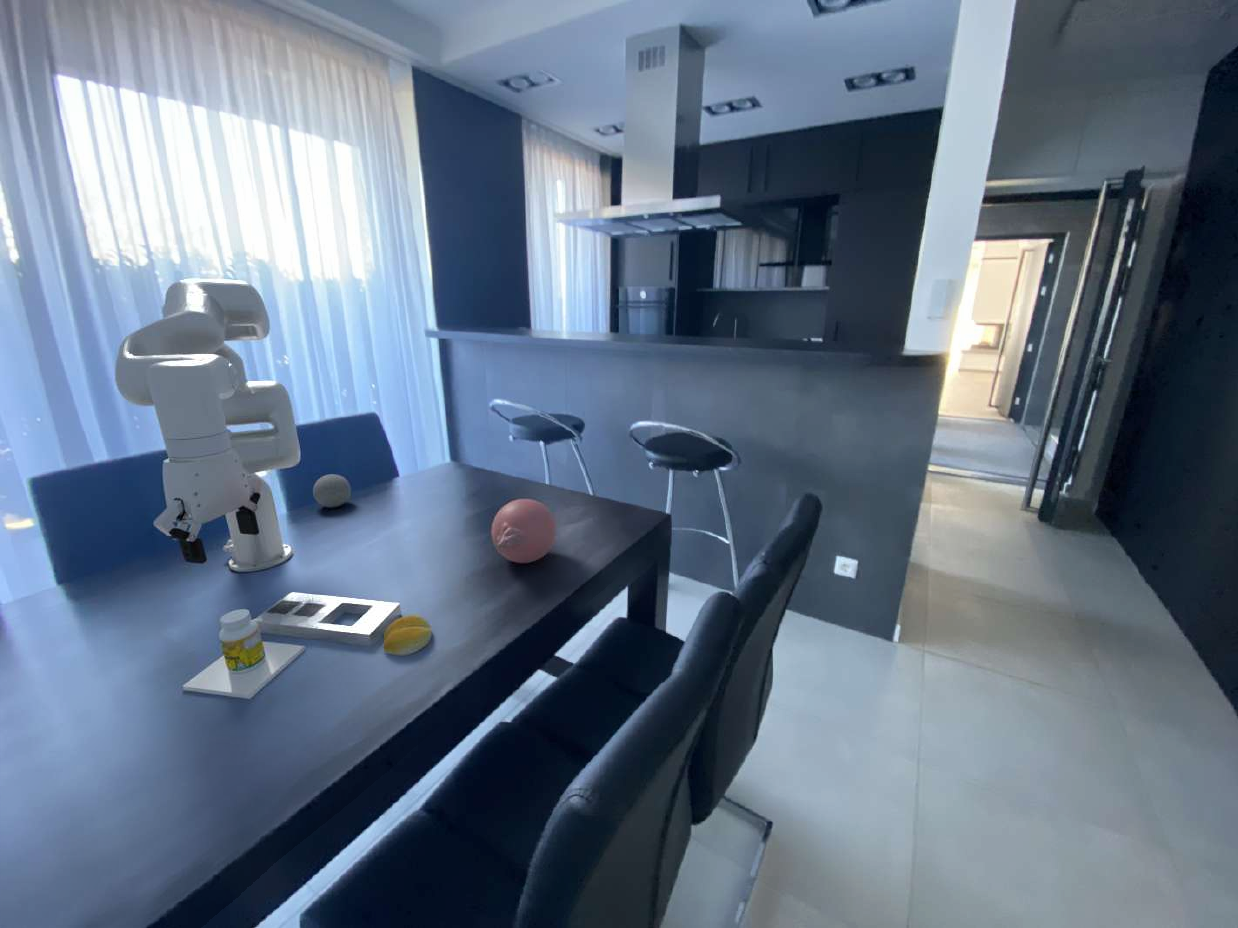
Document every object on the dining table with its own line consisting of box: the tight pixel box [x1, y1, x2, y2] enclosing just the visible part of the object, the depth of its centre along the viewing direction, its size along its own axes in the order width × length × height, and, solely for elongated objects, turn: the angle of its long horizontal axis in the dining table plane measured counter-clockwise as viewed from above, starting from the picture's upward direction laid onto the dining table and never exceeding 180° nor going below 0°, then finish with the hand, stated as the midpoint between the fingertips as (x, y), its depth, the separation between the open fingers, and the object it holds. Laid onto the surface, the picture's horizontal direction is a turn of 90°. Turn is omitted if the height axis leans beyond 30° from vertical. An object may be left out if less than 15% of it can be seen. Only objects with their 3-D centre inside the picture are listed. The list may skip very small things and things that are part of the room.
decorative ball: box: [312, 473, 352, 508], centre depth 153 cm, size 10×10×10 cm
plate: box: [182, 640, 306, 700], centre depth 87 cm, size 12×12×1 cm
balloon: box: [491, 498, 557, 564], centre depth 120 cm, size 15×20×15 cm
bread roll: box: [382, 615, 433, 657], centre depth 94 cm, size 8×9×4 cm
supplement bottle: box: [218, 608, 266, 674], centre depth 85 cm, size 5×5×10 cm
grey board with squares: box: [253, 591, 402, 647], centre depth 99 cm, size 24×10×3 cm, turn 82°
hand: (224, 547), depth 81 cm, fingers open, 9 cm apart
